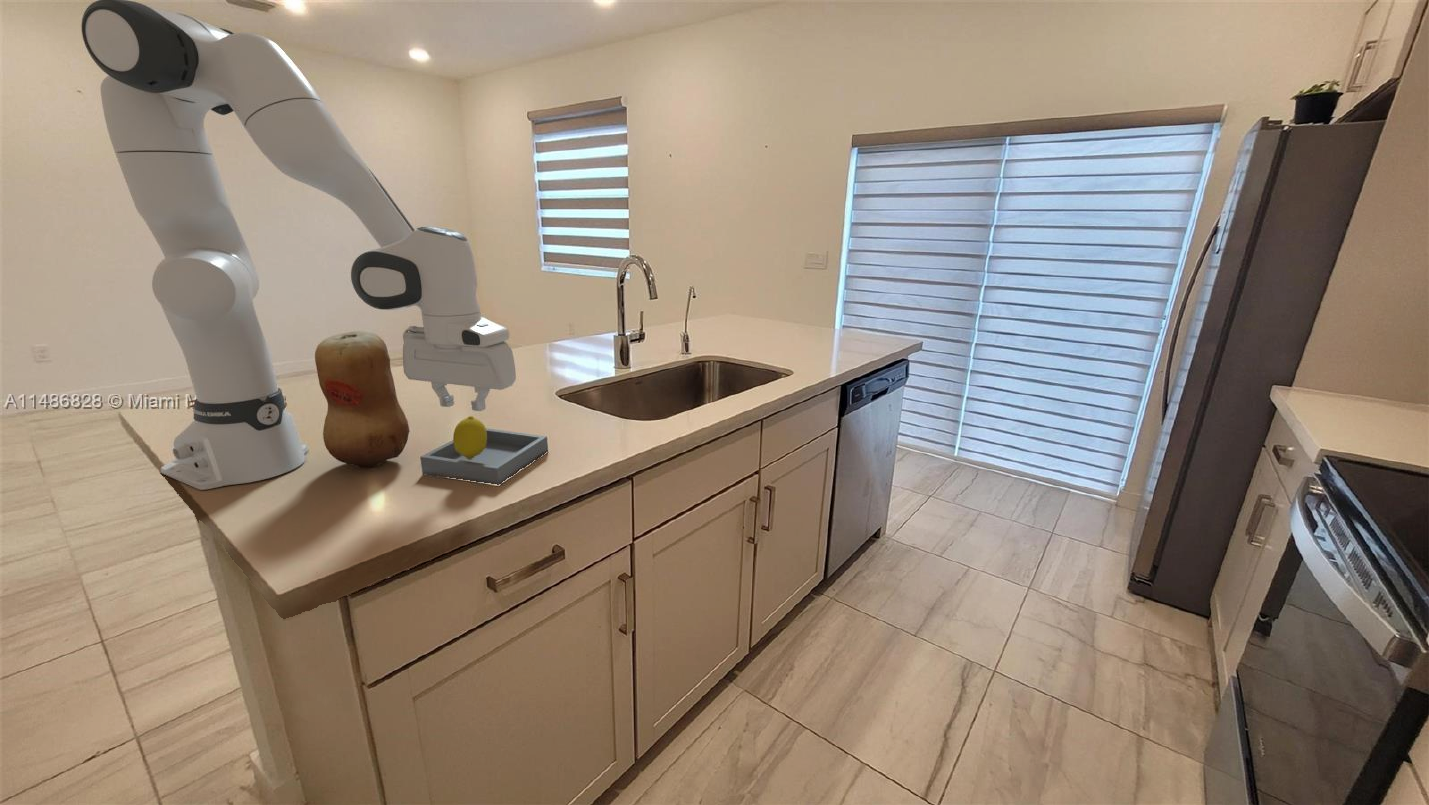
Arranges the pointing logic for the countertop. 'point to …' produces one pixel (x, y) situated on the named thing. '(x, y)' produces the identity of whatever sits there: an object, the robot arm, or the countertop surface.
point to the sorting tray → (487, 457)
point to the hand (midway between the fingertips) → (463, 408)
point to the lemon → (470, 437)
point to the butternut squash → (360, 400)
